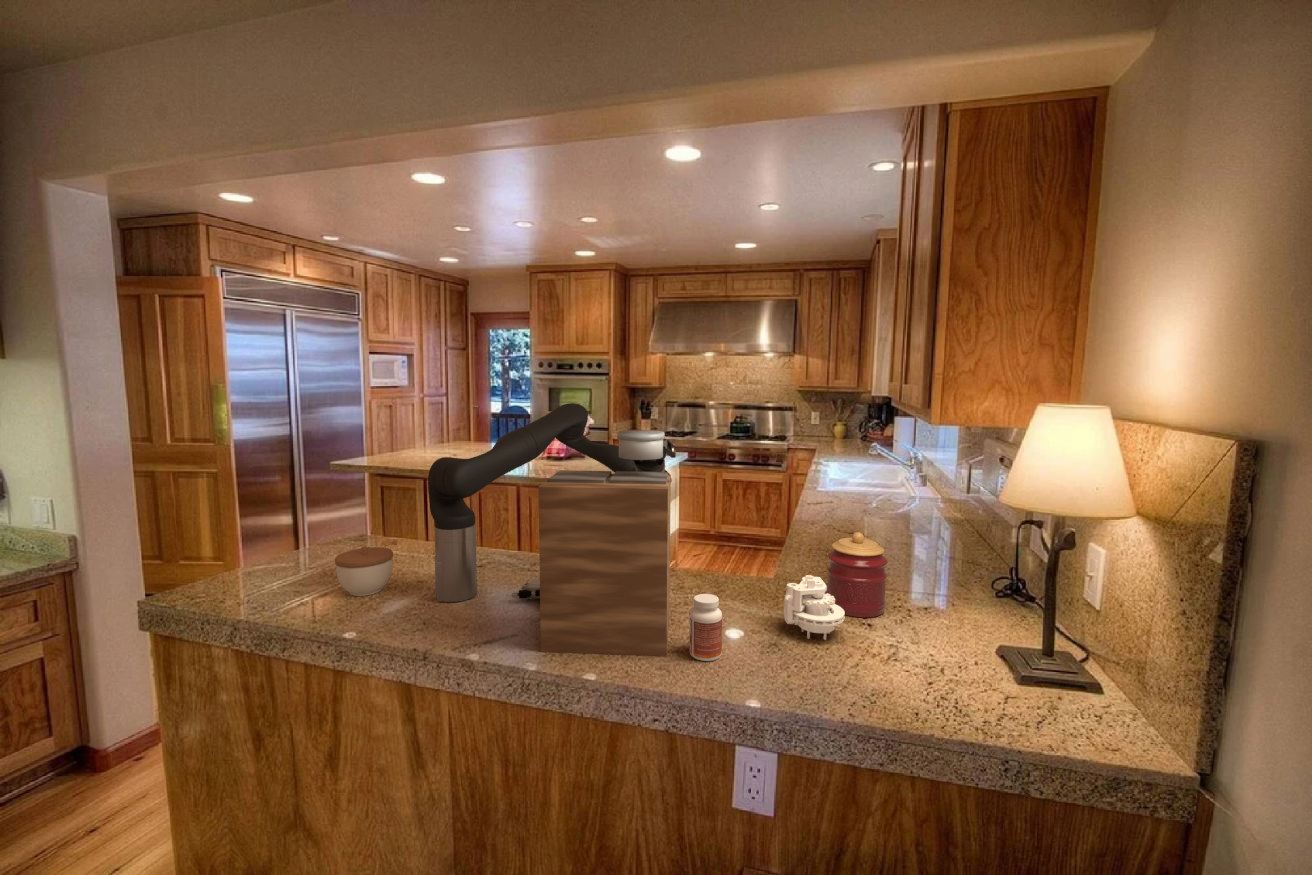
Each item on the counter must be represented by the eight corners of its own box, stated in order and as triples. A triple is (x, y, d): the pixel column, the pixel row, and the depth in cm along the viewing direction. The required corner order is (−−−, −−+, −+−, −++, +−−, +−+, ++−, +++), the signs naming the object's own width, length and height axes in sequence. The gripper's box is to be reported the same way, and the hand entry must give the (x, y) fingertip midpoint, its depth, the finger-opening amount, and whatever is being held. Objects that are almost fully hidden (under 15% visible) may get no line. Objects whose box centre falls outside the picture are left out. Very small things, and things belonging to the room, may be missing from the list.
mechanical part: (837, 651, 110) (839, 591, 109) (776, 637, 116) (778, 580, 115) (848, 629, 120) (851, 574, 119) (792, 617, 126) (794, 565, 125)
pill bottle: (728, 656, 108) (729, 599, 107) (703, 665, 104) (704, 607, 103) (707, 643, 113) (708, 589, 112) (682, 652, 109) (683, 596, 108)
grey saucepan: (663, 460, 111) (663, 435, 111) (614, 459, 112) (614, 434, 112) (668, 446, 134) (668, 425, 134) (627, 445, 135) (627, 424, 134)
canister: (836, 592, 141) (838, 522, 139) (891, 604, 133) (895, 531, 131) (817, 609, 130) (820, 534, 128) (876, 623, 123) (880, 543, 121)
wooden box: (666, 656, 108) (667, 485, 104) (540, 651, 109) (538, 483, 106) (669, 620, 123) (670, 471, 120) (559, 617, 125) (558, 469, 122)
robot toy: (509, 608, 132) (566, 613, 127) (507, 589, 132) (564, 593, 127) (537, 590, 143) (590, 593, 138) (535, 572, 143) (589, 575, 138)
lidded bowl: (365, 603, 132) (363, 557, 131) (324, 596, 136) (321, 551, 135) (405, 585, 144) (404, 542, 142) (366, 579, 148) (364, 537, 146)
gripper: (622, 449, 144) (614, 419, 129) (678, 450, 143) (677, 420, 128) (620, 477, 141) (612, 450, 126) (677, 478, 140) (676, 451, 125)
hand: (645, 435), depth 127 cm, fingers closed on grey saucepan, 3 cm apart
